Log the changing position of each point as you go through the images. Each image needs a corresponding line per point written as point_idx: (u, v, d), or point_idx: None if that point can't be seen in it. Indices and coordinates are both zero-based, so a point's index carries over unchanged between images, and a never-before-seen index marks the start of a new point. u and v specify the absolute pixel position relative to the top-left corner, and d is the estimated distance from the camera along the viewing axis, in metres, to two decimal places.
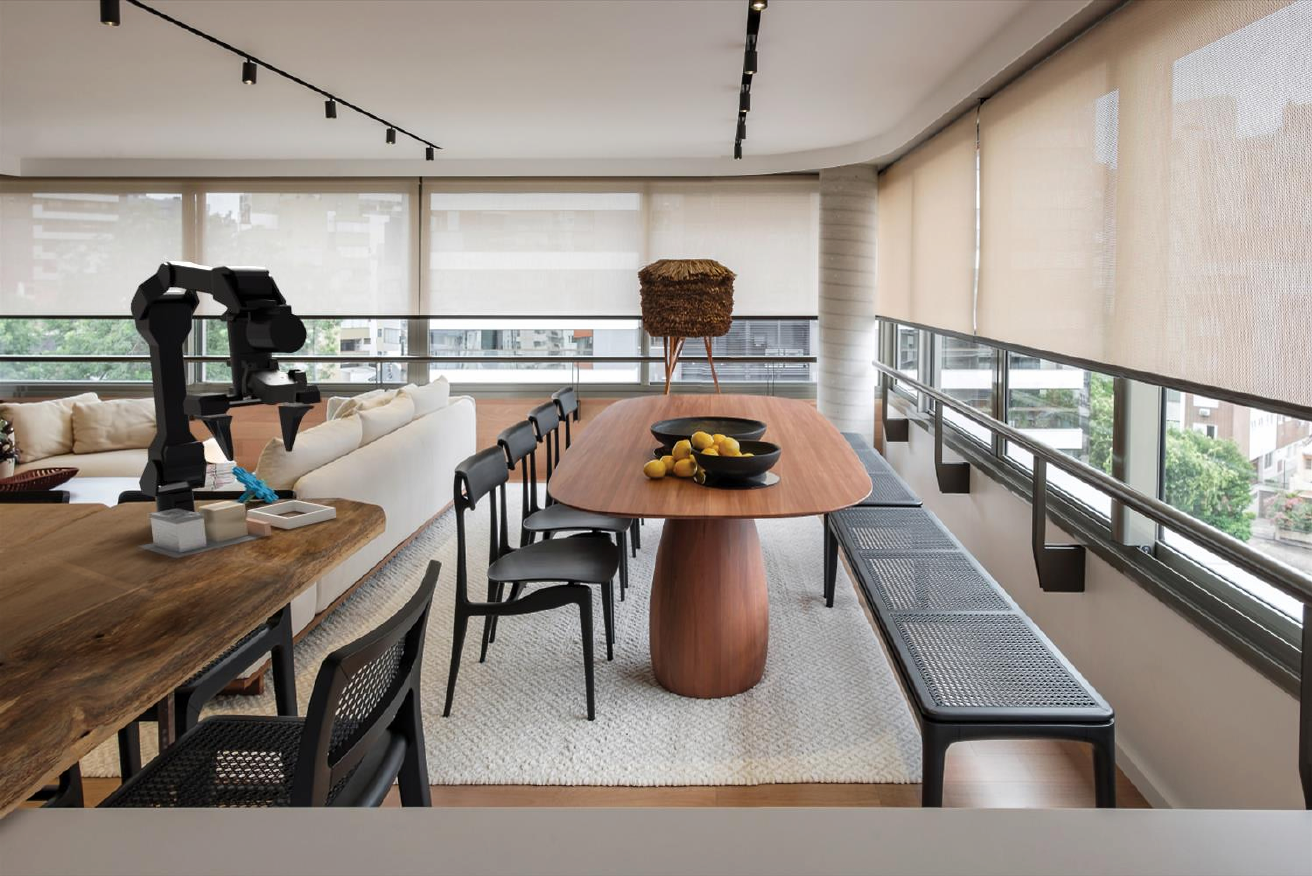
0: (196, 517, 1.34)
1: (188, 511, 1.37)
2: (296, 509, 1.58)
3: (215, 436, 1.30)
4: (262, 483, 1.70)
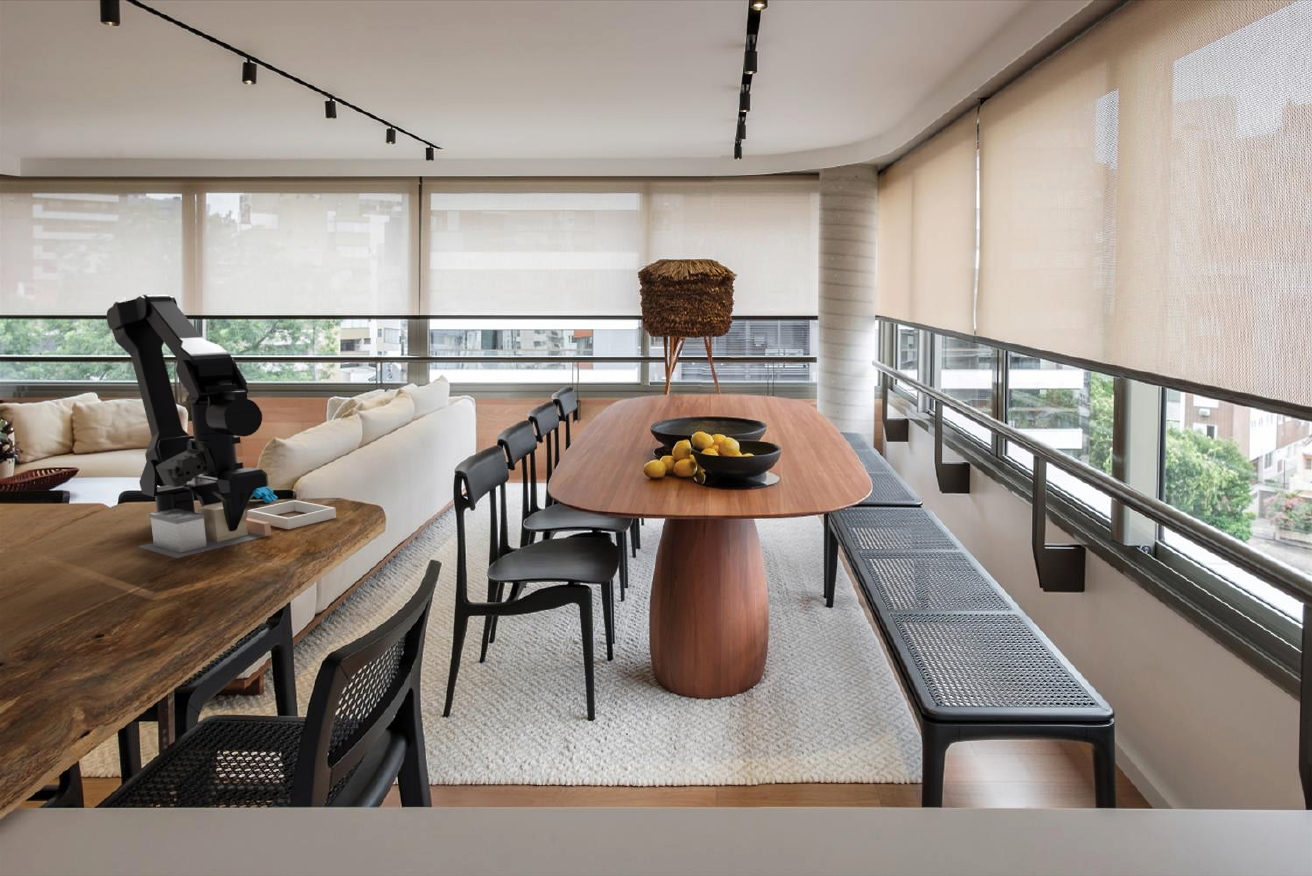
0: (196, 517, 1.34)
1: (188, 511, 1.37)
2: (296, 509, 1.58)
3: None
4: None
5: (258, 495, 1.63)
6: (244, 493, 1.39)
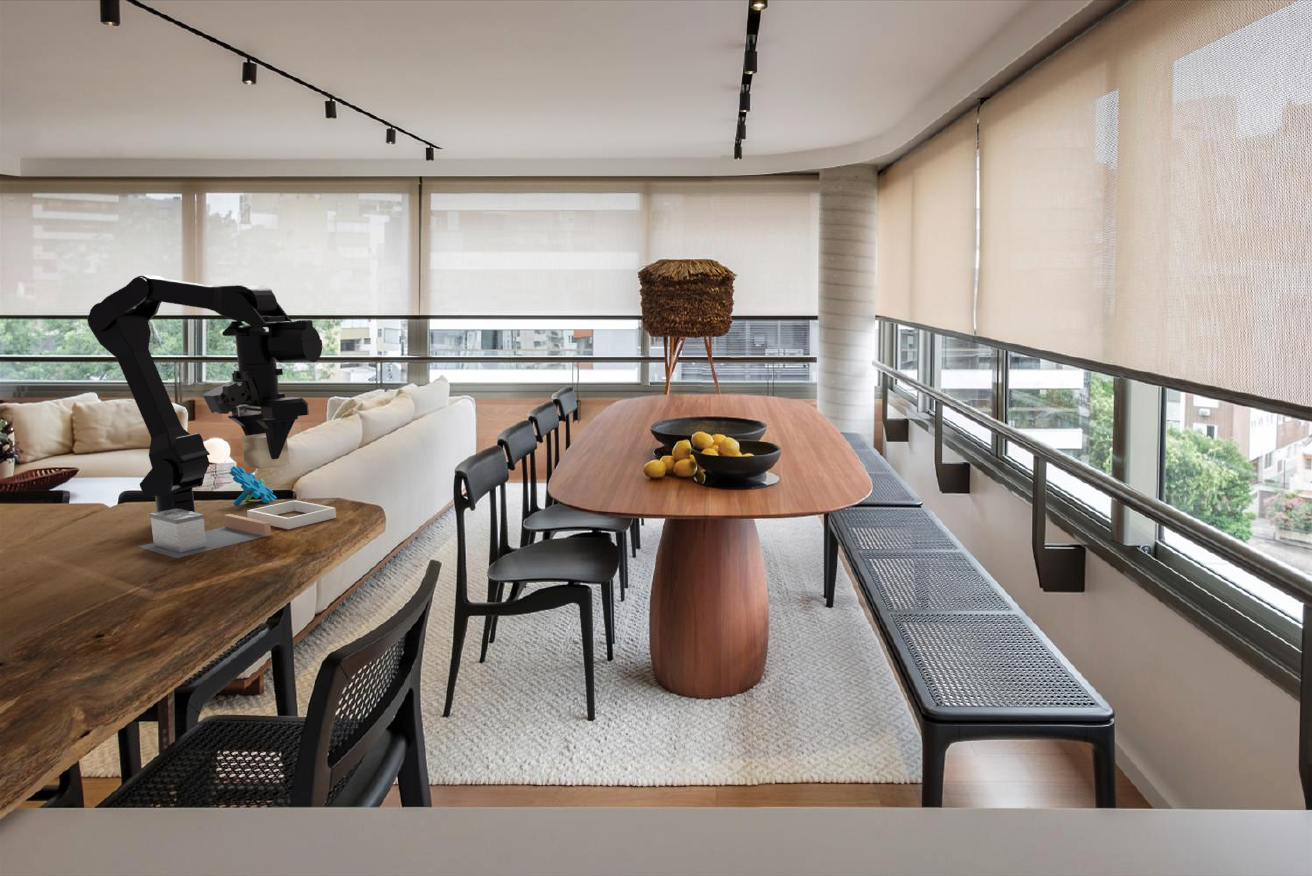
0: (196, 517, 1.34)
1: (188, 511, 1.37)
2: (296, 509, 1.58)
3: None
4: (261, 483, 1.70)
5: (256, 495, 1.63)
6: (286, 422, 1.45)
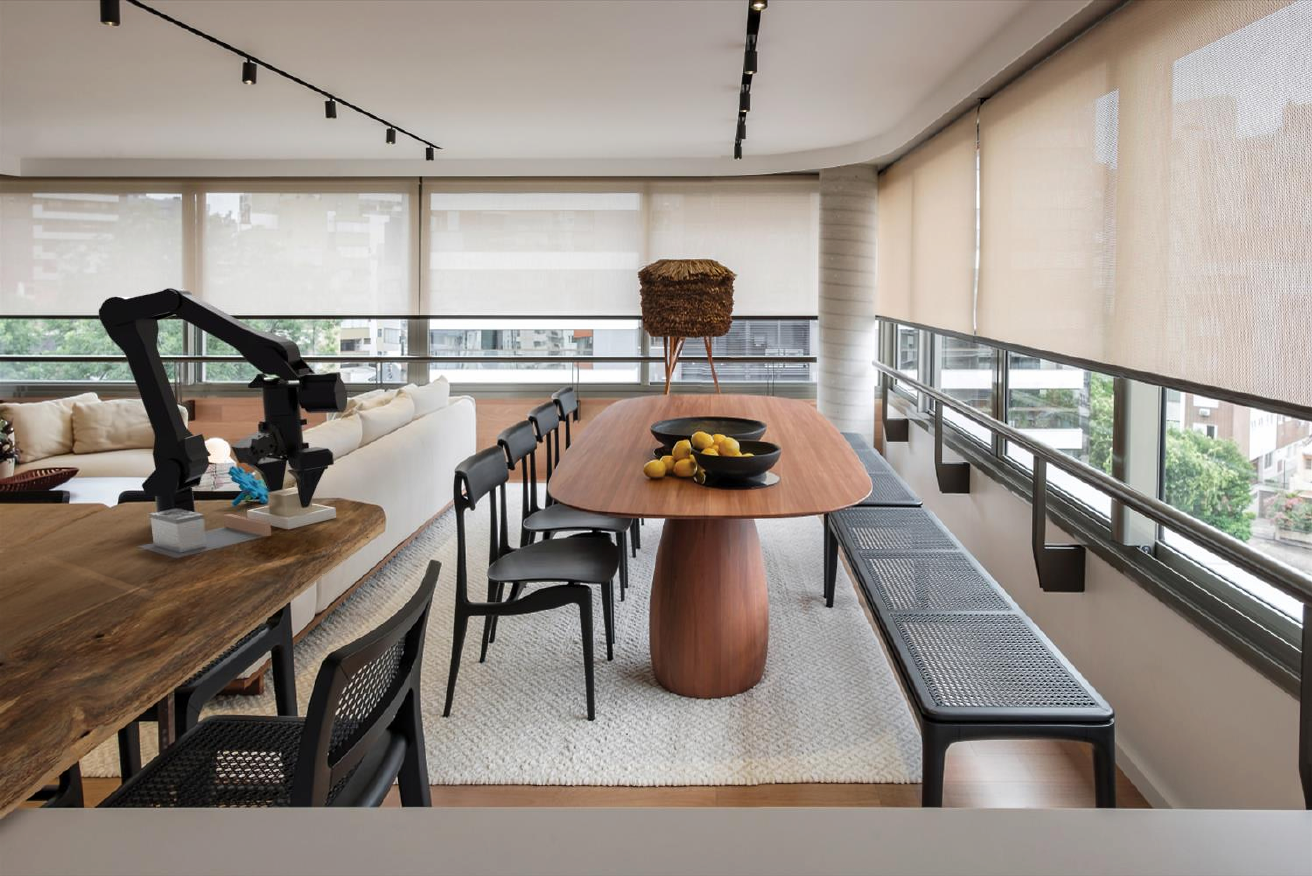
0: (196, 517, 1.34)
1: (188, 511, 1.37)
2: None
3: None
4: (260, 483, 1.70)
5: (254, 495, 1.63)
6: (316, 472, 1.49)
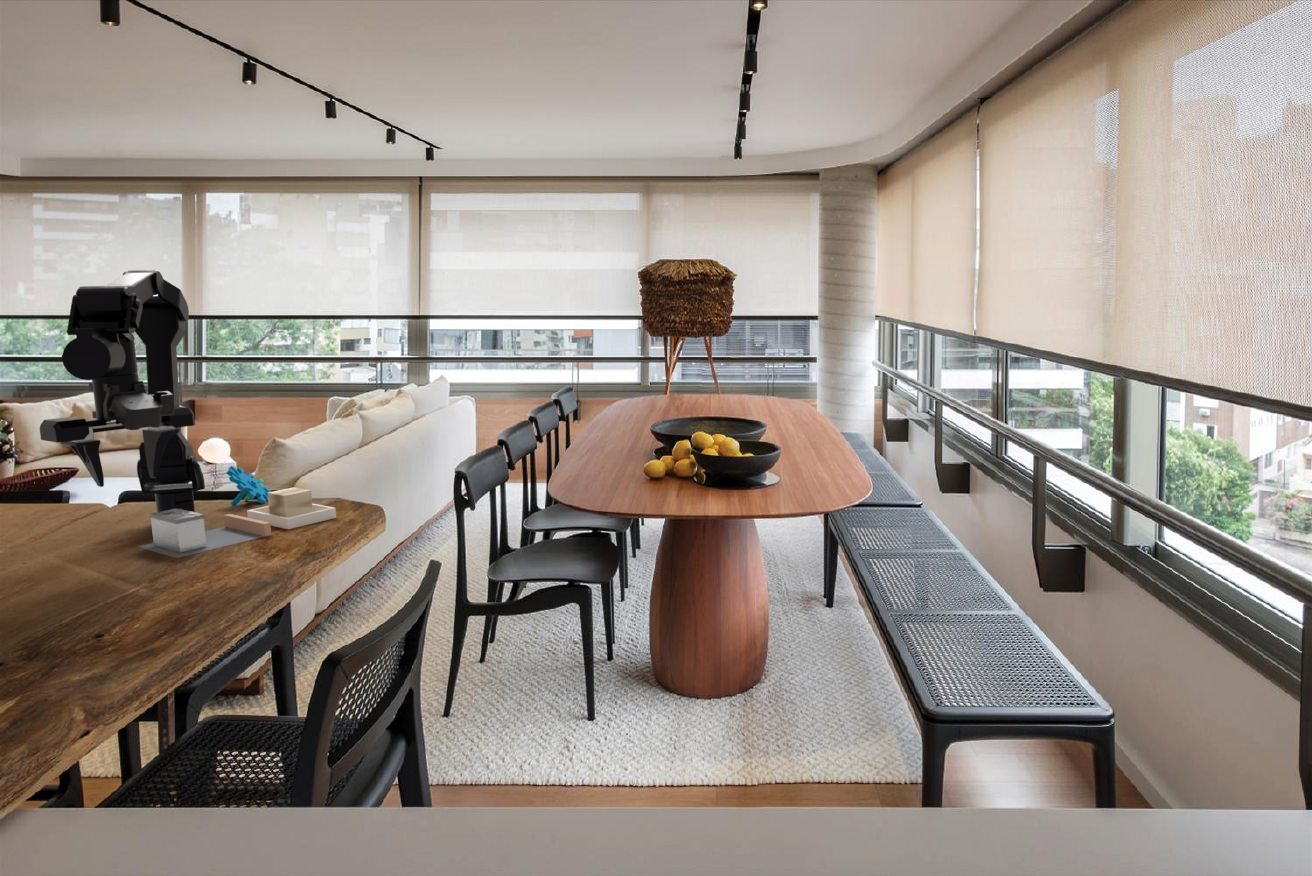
0: (196, 517, 1.34)
1: (188, 511, 1.37)
2: None
3: (84, 461, 1.25)
4: (259, 483, 1.70)
5: (252, 495, 1.63)
6: None
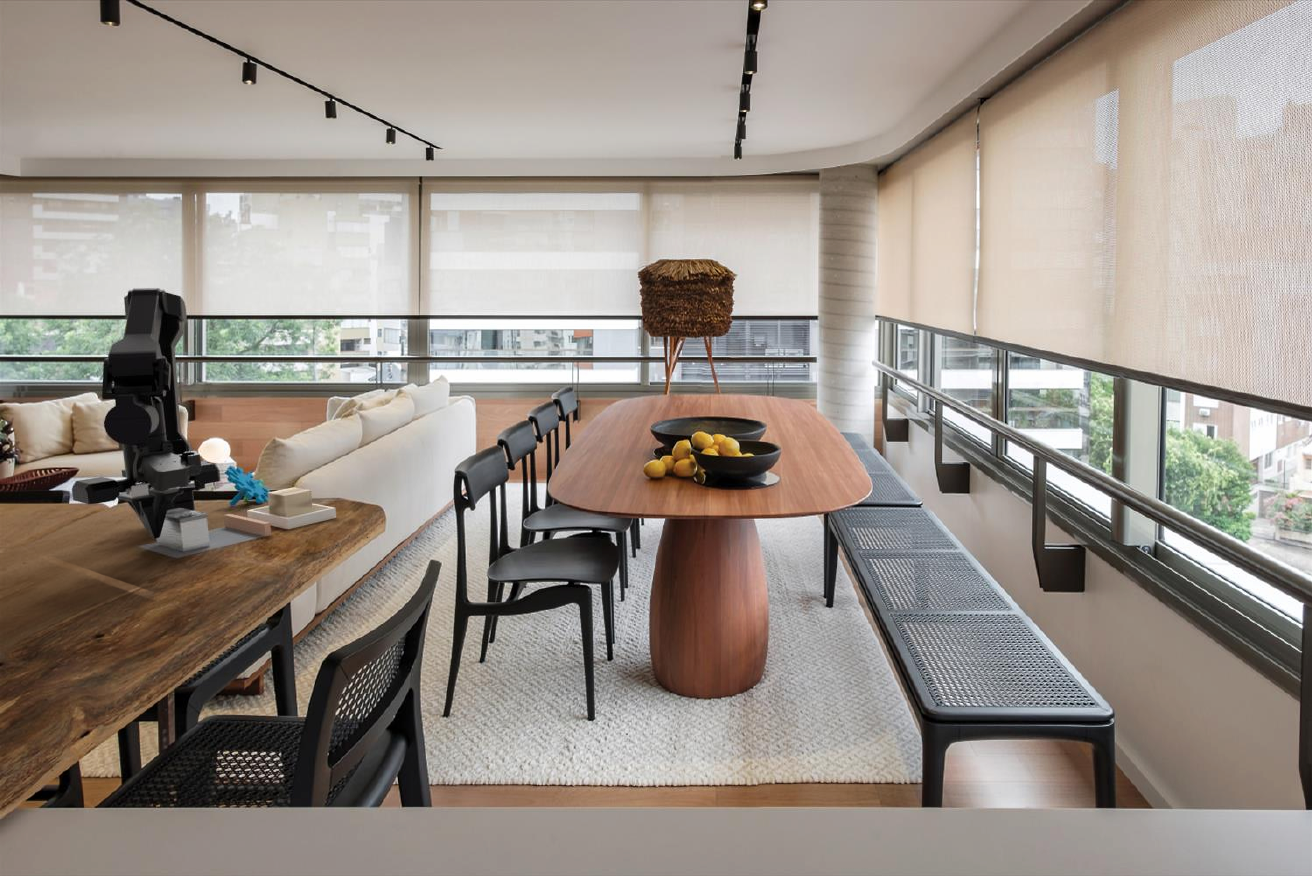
0: (199, 516, 1.34)
1: (191, 510, 1.37)
2: None
3: (138, 514, 1.32)
4: (258, 483, 1.70)
5: (249, 495, 1.63)
6: None
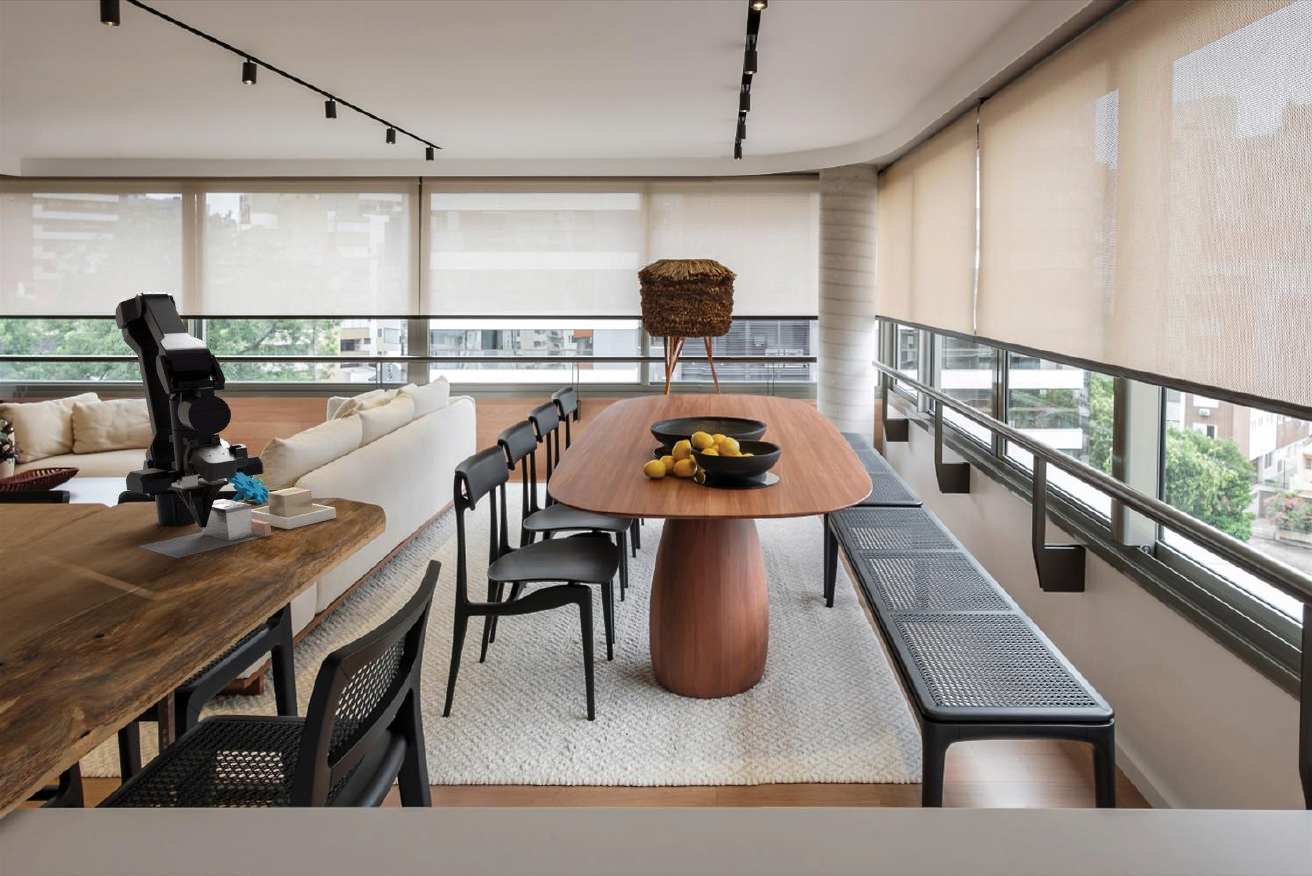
0: (244, 507, 1.40)
1: (235, 501, 1.43)
2: None
3: (187, 504, 1.38)
4: (258, 483, 1.70)
5: (248, 496, 1.63)
6: None
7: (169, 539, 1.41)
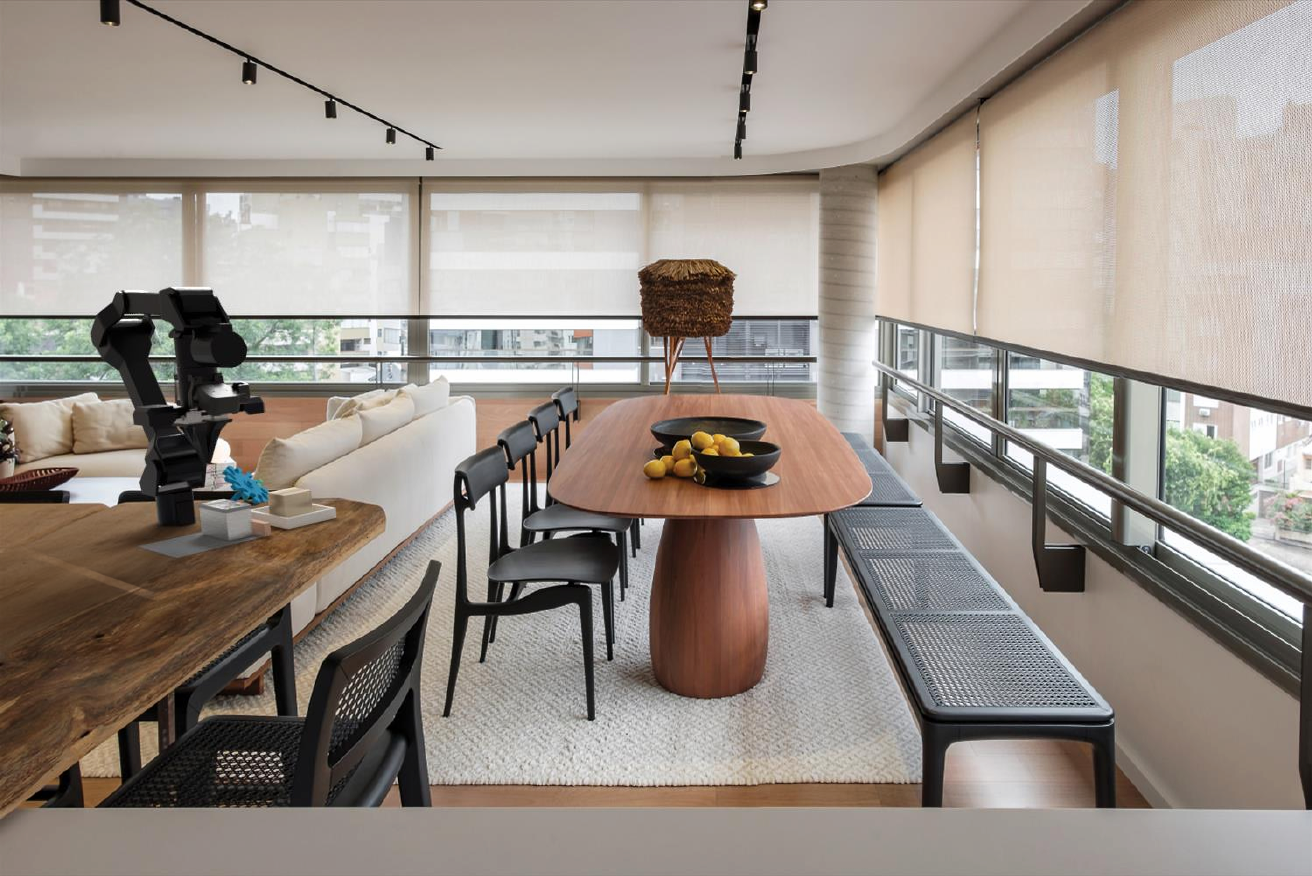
0: (244, 507, 1.40)
1: (235, 501, 1.43)
2: None
3: (191, 441, 1.43)
4: (257, 483, 1.70)
5: (245, 496, 1.63)
6: None
7: (169, 539, 1.41)
